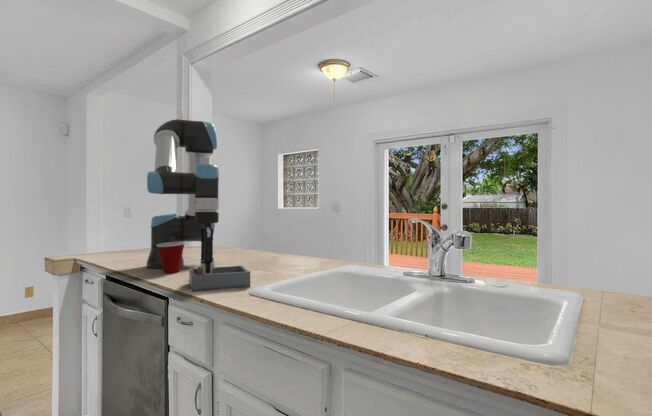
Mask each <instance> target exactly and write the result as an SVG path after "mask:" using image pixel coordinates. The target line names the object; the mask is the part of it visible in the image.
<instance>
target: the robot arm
mask: <svg viewBox="0 0 652 416" xmlns="http://www.w3.org/2000/svg"><path fill="white" fill-rule="evenodd" d="M217 139H218V138H217V131H216V127H215V125H214V124H213V123H212V122H210V121H209V122H207V121H201V120H190V119H189V120H188V119H187V120H186V119H181V118H180V119H179V118H178V119H171V120H167V121H165V122H164V123H163V124H161V125H160V126H159V127H157V129H156V131H155V132H154V134H153V142H154V143H153V144H154V145H155V159H154V171H148V173H147V174H146V179H147V180H146V185H147V186H146V187H147V192H148V193H150V194H156V195H157V194H158V195H188V208H187V210H186V211H184V215H182V216H181V214H180V213H179V212H175V213H168V214H160V215H154V216H153V217H152V218H151V222H150V228H151V229H150V231H151V232H150V237H151V238H150V239H151V240H150V252H149V255H148V257H147V260H146V268H149V269H163V267H162V262H161V257H160V252H159V249H158V247H157V246H156V245H157V244H161V243H167V242H185V243H189V242H200V244H201V245H200V247H201V248H200V260H201V259H202V260H203V261H202V262H201V261H200V264H201V263H202V267H203V274H212V262H213V258H214V249H213V248H214V245H213V244H214V242H213V241H214V233H215V227H216V226H215V224H218V223H219V221H220V220H219V217H220V216H219V215H220V213H219V212H218V211H219V209H220V207H219V205H220V204H219V203H220V202H219V201H220V200H219V199H220V198H219V177H220V174H219V173H220V172H219V166H218V165H215V164H210V158H211V156H212V155H213V154H214V151H215V150H217V148H218V145H217V144H218V140H217ZM178 148H184V149H185V153H186V154H187V155H188V172H178ZM184 263H185V262H184V256H182V259H181V264H180V267H182V265H183V266H184V265H185V264H184Z"/></svg>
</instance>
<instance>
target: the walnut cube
mask: <svg viewBox="0 0 652 416" xmlns="http://www.w3.org/2000/svg"><path fill="white" fill-rule="evenodd" d="M215 267H216V266H215ZM215 267H214V266H212V274H215ZM197 268H198V275H203V267H201V266H198V267H197Z"/></svg>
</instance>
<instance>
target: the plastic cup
mask: <svg viewBox="0 0 652 416" xmlns="http://www.w3.org/2000/svg"><path fill="white" fill-rule="evenodd" d="M185 244H186V242H167V243H161V244H157V245H156V246H157V247H158V249H159V252H160V257H161V262H162V267H163V268H162V271H163V273H164V274H175V273H176V274H178V273H179V272H180V270H181V269H180V268H181V266H180V264H181V259H182V257H183V251H184V248H185Z"/></svg>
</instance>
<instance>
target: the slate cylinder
mask: <svg viewBox="0 0 652 416" xmlns="http://www.w3.org/2000/svg"><path fill="white" fill-rule="evenodd" d="M202 261H203V260H202V259H201V258H200V267H202V263H201V262H202ZM212 266H214V267H216V265H215V257H213V262H212Z"/></svg>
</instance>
